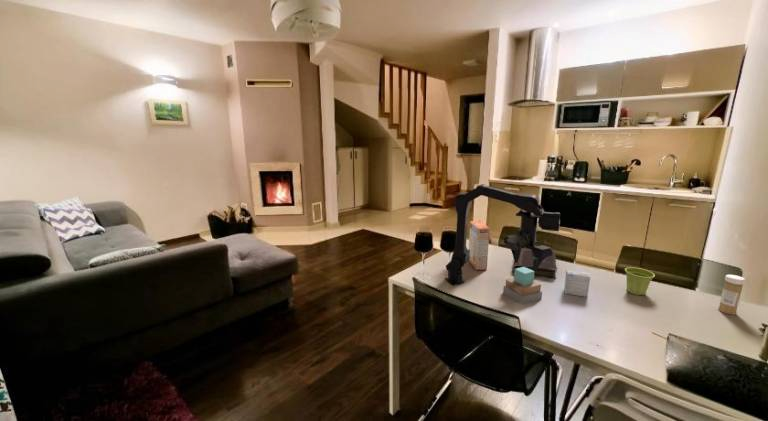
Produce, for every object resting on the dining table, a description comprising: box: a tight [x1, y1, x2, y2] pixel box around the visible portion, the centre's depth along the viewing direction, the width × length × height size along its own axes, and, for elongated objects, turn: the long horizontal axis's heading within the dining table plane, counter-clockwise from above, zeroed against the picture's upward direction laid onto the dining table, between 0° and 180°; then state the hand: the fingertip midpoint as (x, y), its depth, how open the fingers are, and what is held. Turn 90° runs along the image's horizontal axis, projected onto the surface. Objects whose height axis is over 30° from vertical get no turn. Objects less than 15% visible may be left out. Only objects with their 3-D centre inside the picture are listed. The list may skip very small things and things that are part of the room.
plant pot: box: [624, 267, 656, 296], centre depth 127 cm, size 9×9×9 cm
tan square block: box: [505, 277, 542, 296], centre depth 126 cm, size 9×9×3 cm
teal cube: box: [513, 267, 535, 286], centre depth 125 cm, size 5×5×5 cm
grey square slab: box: [502, 285, 543, 305], centre depth 127 cm, size 10×10×4 cm
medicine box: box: [563, 269, 591, 298], centre depth 127 cm, size 8×4×9 cm, turn 65°
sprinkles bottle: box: [717, 274, 746, 316], centre depth 112 cm, size 5×5×13 cm
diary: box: [512, 248, 558, 280], centre depth 155 cm, size 19×25×5 cm
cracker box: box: [468, 220, 491, 271], centre depth 156 cm, size 14×6×21 cm, turn 179°
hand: (525, 266), depth 124 cm, fingers open, 9 cm apart
